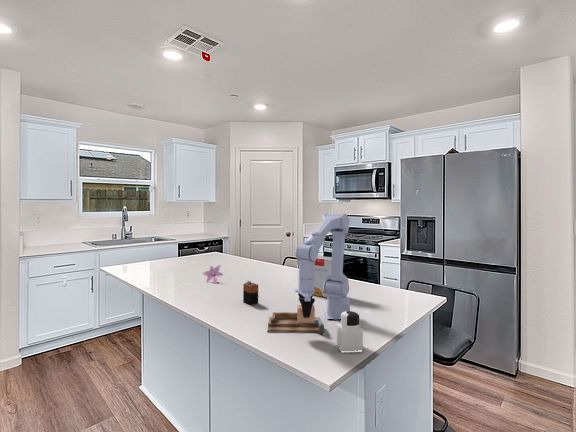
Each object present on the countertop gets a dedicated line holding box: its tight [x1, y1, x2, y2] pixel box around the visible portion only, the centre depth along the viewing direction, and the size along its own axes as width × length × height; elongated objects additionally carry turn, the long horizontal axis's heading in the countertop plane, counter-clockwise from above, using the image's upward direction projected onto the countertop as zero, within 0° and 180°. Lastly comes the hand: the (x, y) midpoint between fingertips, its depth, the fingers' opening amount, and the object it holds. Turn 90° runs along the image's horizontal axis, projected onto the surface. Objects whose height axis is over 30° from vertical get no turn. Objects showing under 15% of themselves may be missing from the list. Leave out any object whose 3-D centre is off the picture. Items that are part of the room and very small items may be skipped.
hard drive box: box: [313, 255, 344, 298], centre depth 170 cm, size 16×8×20 cm, turn 62°
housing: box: [267, 311, 321, 333], centre depth 128 cm, size 21×14×3 cm, turn 90°
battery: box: [242, 280, 259, 306], centre depth 156 cm, size 4×7×10 cm, turn 44°
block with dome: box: [296, 304, 316, 323], centre depth 117 cm, size 6×4×6 cm, turn 91°
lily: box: [202, 264, 224, 284], centre depth 197 cm, size 12×12×10 cm
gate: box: [298, 318, 325, 335], centre depth 123 cm, size 9×8×3 cm
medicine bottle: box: [336, 310, 364, 351], centre depth 108 cm, size 7×7×12 cm
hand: (306, 315), depth 118 cm, fingers closed on block with dome, 4 cm apart
